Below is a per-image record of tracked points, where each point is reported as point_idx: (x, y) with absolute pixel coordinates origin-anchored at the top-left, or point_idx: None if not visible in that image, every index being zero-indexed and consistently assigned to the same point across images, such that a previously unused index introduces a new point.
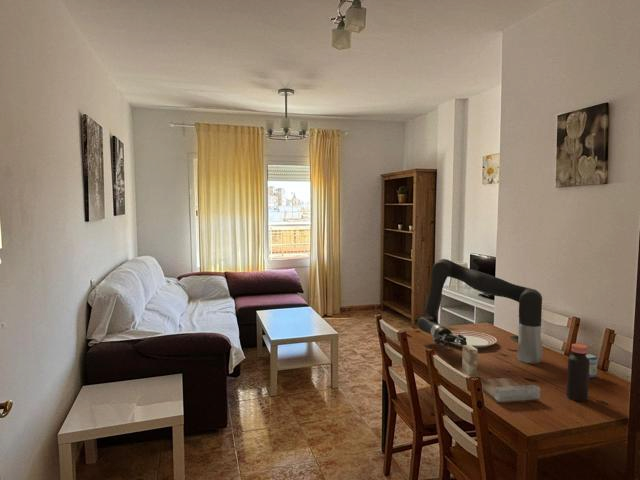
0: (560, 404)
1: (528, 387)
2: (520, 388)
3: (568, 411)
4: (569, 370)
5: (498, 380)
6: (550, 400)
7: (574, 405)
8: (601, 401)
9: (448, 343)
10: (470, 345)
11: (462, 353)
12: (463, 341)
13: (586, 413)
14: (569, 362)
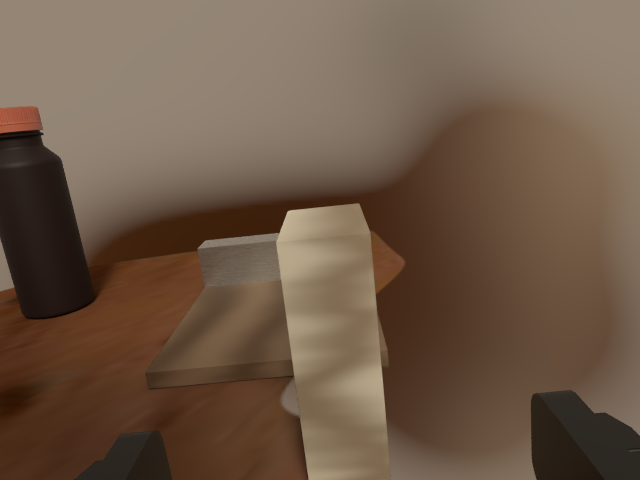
0: (162, 285)
1: (239, 240)
2: (274, 235)
3: (184, 270)
4: (65, 203)
5: (235, 351)
6: (165, 295)
7: (128, 285)
8: (17, 300)
9: (531, 402)
10: (286, 236)
11: (377, 323)
12: (136, 474)
13: (149, 269)
14: (56, 174)
